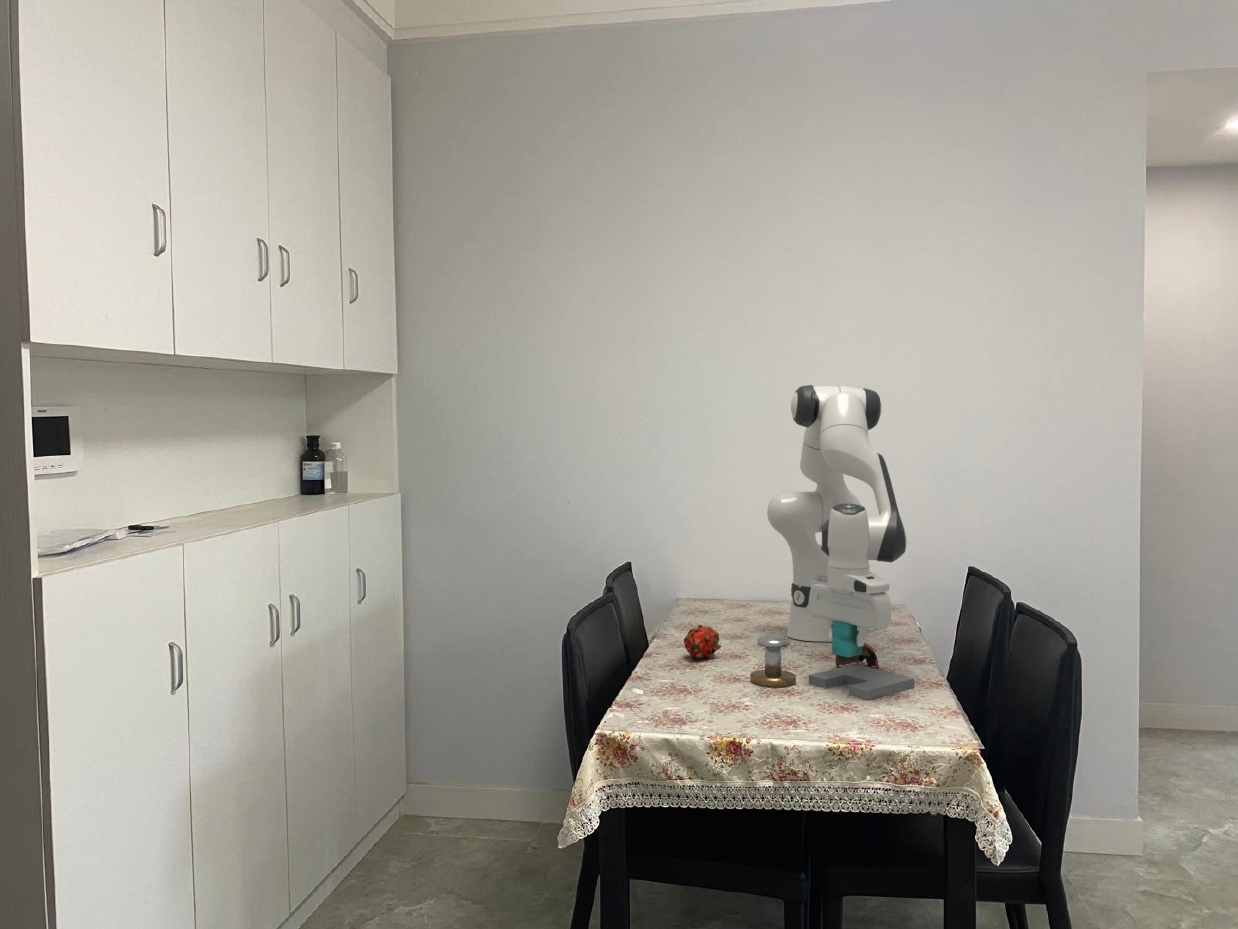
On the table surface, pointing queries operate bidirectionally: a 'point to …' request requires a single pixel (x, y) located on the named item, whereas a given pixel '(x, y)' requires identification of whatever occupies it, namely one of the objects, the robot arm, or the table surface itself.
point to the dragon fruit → (702, 642)
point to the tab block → (844, 639)
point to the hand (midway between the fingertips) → (847, 643)
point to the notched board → (862, 681)
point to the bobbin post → (773, 665)
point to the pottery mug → (859, 657)
